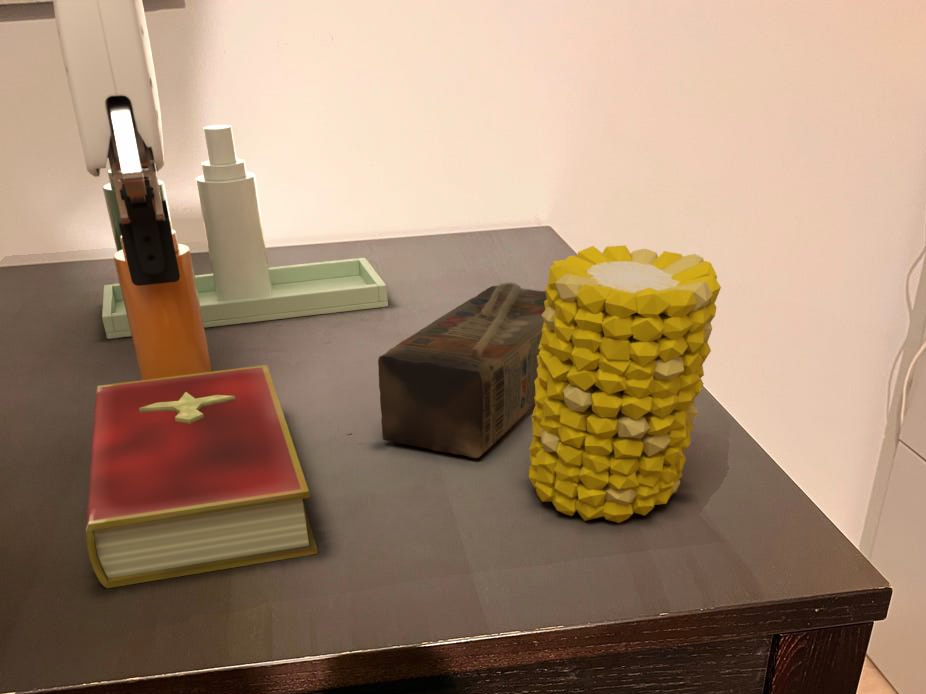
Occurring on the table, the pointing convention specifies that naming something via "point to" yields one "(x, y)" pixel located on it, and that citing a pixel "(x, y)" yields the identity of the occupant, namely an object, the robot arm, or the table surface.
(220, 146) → the frosted bottle
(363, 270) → the tray
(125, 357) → the table surface
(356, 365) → the table surface
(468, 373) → the beverage carton
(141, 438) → the hardcover book
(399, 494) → the table surface
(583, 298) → the food
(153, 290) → the amber bottle
